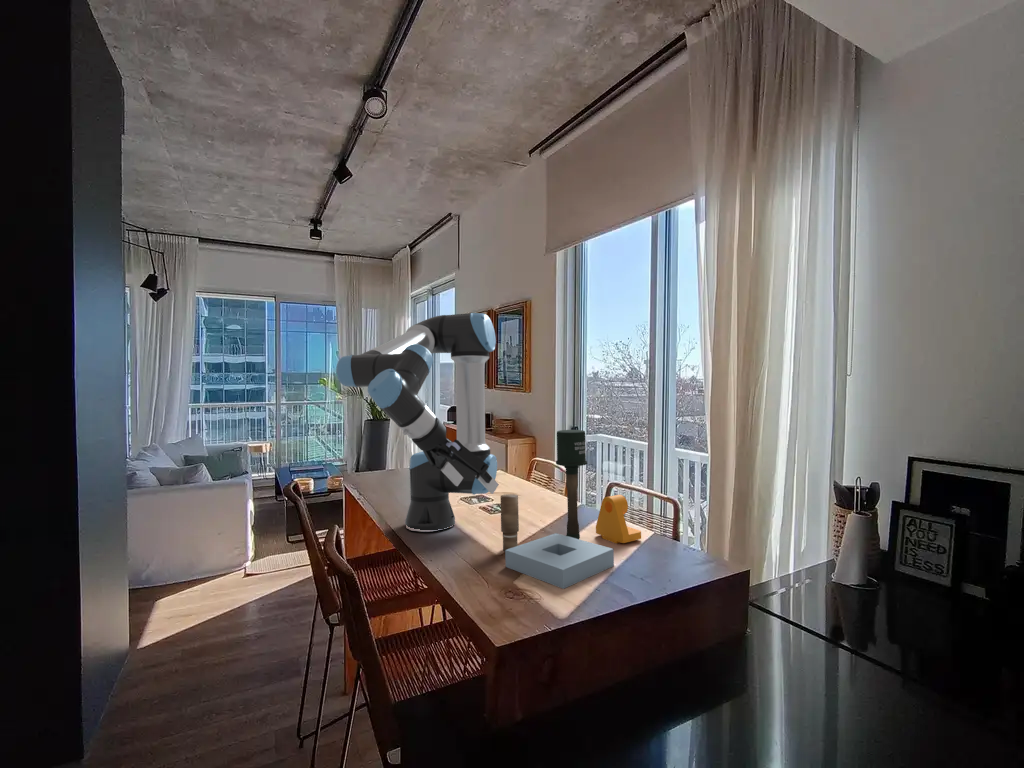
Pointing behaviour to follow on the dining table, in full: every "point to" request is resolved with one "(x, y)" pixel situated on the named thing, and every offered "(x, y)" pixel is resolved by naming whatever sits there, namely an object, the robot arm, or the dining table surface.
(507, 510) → the peg
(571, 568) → the socket plate
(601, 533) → the bracket
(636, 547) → the dining table surface
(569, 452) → the potato masher grenade
